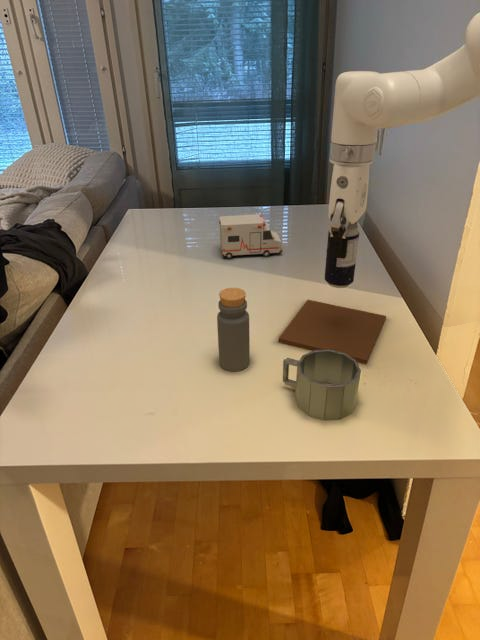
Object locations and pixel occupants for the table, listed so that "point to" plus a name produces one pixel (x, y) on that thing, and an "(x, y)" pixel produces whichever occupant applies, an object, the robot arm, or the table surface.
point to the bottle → (233, 330)
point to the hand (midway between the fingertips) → (342, 250)
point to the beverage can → (343, 260)
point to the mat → (334, 329)
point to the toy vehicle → (247, 236)
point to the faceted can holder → (322, 397)
